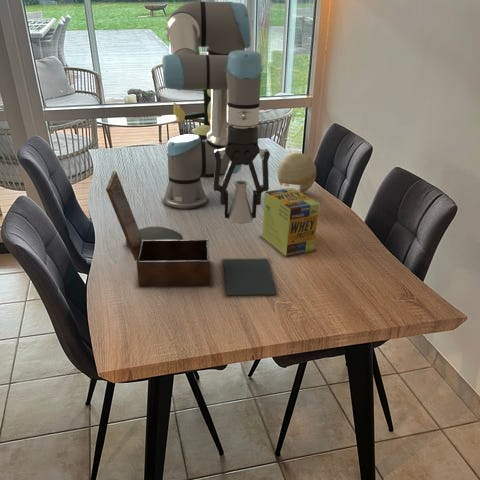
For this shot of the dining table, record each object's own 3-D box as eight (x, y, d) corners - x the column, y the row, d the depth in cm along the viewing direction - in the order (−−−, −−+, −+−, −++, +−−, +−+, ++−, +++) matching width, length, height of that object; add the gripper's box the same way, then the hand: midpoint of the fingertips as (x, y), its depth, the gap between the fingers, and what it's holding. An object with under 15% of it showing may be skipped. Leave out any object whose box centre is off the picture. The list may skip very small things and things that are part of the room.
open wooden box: (208, 263, 150) (208, 239, 145) (209, 285, 139) (209, 261, 134) (143, 263, 148) (140, 239, 144) (139, 286, 137) (136, 261, 133)
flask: (225, 214, 136) (226, 177, 130) (252, 214, 137) (253, 177, 131) (227, 225, 130) (227, 187, 125) (255, 225, 131) (256, 187, 125)
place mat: (223, 260, 151) (223, 259, 151) (266, 260, 152) (266, 259, 152) (226, 296, 135) (226, 294, 134) (275, 295, 136) (275, 294, 135)
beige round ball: (321, 195, 198) (326, 157, 189) (288, 201, 192) (291, 161, 183) (301, 183, 209) (304, 146, 200) (269, 188, 203) (271, 150, 194)
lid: (115, 170, 132) (113, 171, 132) (108, 188, 121) (105, 189, 121) (142, 238, 144) (139, 238, 144) (137, 260, 133) (134, 260, 133)
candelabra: (174, 171, 216) (169, 53, 190) (204, 159, 232) (203, 48, 206) (211, 180, 208) (210, 58, 182) (239, 167, 224) (242, 52, 198)
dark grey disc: (158, 259, 150) (157, 250, 149) (121, 247, 156) (120, 238, 155) (187, 242, 161) (187, 233, 159) (151, 230, 167) (150, 222, 165)
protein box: (286, 257, 154) (290, 208, 145) (261, 237, 165) (264, 191, 156) (314, 250, 158) (320, 203, 149) (288, 231, 169) (292, 186, 161)
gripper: (201, 128, 116) (202, 221, 129) (285, 129, 118) (278, 221, 131) (201, 120, 122) (202, 210, 135) (281, 121, 124) (275, 210, 137)
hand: (240, 215), depth 133 cm, fingers closed on flask, 7 cm apart
